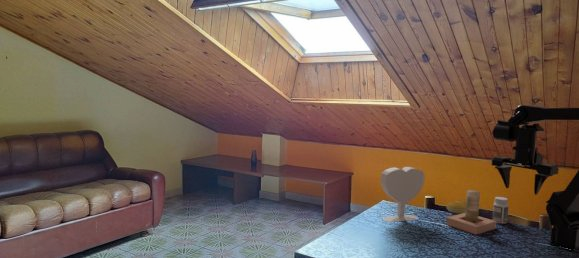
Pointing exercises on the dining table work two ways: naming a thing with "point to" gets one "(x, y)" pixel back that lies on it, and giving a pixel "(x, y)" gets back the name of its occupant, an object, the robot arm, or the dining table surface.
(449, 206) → the bread roll
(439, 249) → the dining table surface
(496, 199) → the pill bottle
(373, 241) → the dining table surface
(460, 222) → the socket collar
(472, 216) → the beech peg
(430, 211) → the dining table surface
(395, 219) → the heart sculpture
